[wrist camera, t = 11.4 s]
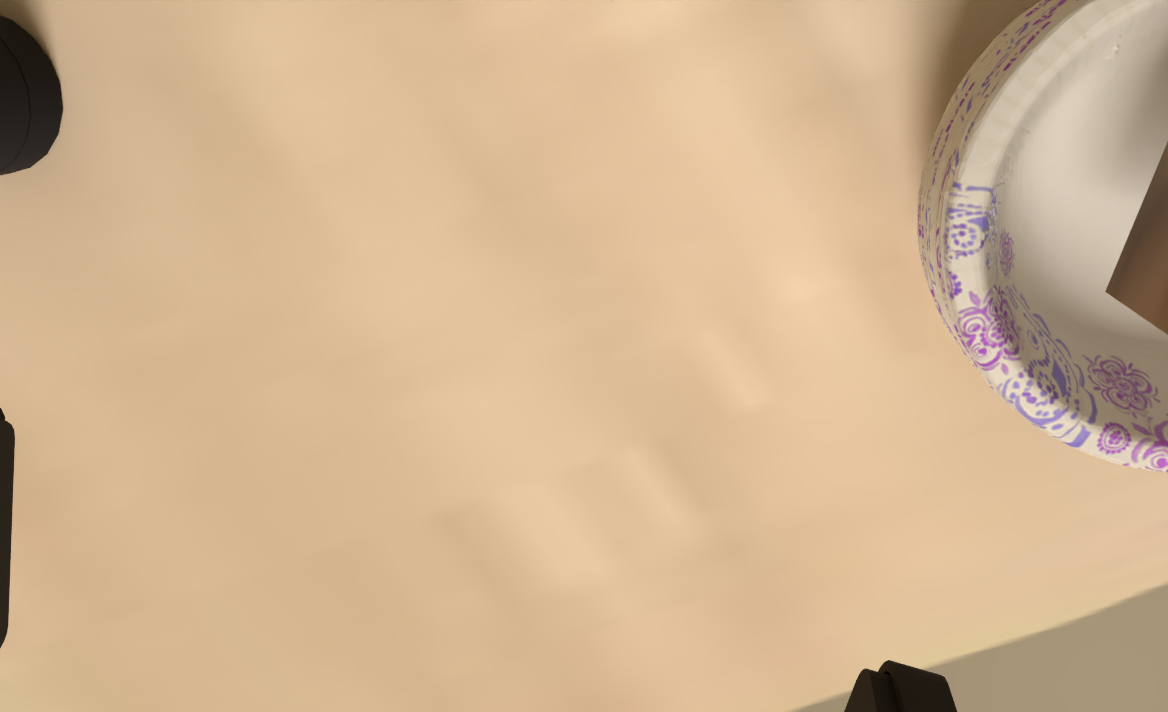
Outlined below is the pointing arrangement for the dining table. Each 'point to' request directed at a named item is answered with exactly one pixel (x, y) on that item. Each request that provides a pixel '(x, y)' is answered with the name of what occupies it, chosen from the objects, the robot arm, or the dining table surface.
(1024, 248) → the paper bowls
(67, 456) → the dining table surface
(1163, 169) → the walnut block
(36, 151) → the wine bottle
